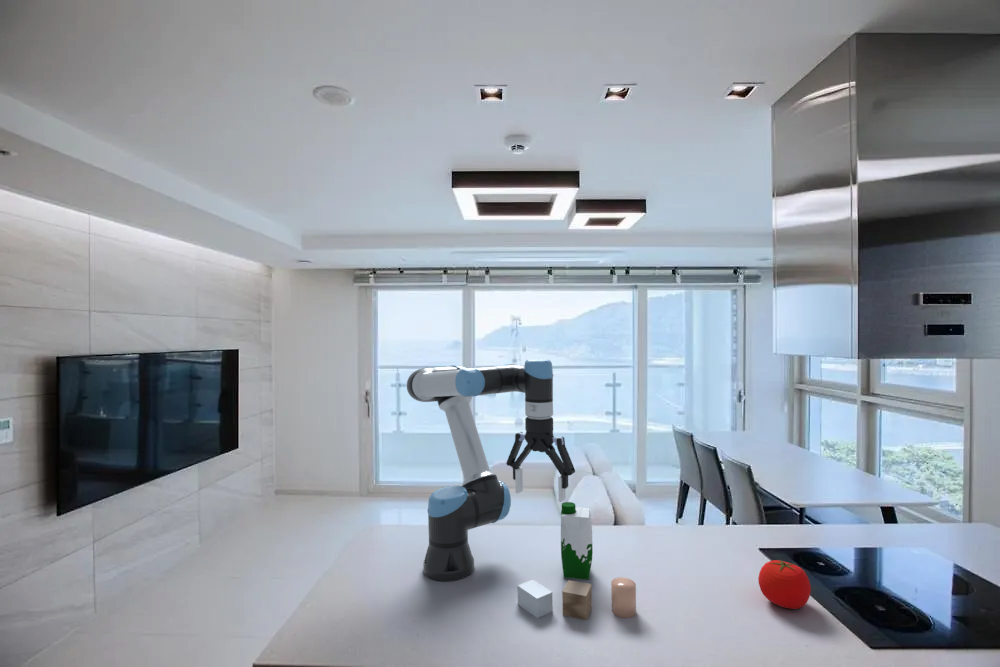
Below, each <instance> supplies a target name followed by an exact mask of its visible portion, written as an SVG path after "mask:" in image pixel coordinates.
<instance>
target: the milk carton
mask: <svg viewBox="0 0 1000 667" xmlns="http://www.w3.org/2000/svg"><path fill="white" fill-rule="evenodd" d="M560 515H561V516H560V519H561V520H560V555H561V556H560V557H561V558H560V559H561V565H562V574H563V578H566V579H576V580H587V581H589V580H590V575H591V567H592V562H593V526H592V518H591V510H590V508H589V507H581V506H579V507H578V506H577V507H576V503H575V502H570V501H564V502H562V503H561V511H560Z"/></svg>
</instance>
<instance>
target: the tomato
mask: <svg viewBox="0 0 1000 667" xmlns="http://www.w3.org/2000/svg"><path fill="white" fill-rule="evenodd" d="M757 580H758V586H759V588H760V591H761V593H762V595H763V596H764V597H765V598H766V599H767V600H768V601H770V602H771V603H773V604H774V605H777V606H780V607H781V608H785V609H791V610H795V609H797V610H798V609H800V608H803V607H804V606H805V605H806V604H807V603H808V601H809V598H810V596H811V592H812V586H811V583H810V579H809V577H808V575H807V573H806V571H805V570H804V569H803V568H801V567H800V566H798V565H797V564H795V563H791V562H787V561H783V560H781V559H777V560H775V559H774V560H770V561H767V562H766V563H764V564H763V566H762V567H761V568H760V571H759V573H758V579H757Z"/></svg>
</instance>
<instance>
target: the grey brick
mask: <svg viewBox="0 0 1000 667" xmlns="http://www.w3.org/2000/svg"><path fill="white" fill-rule="evenodd" d="M517 604H518V605H519V606H520V607H522V608H523V609H524V610H525V611H527V612H528V613H530V614H531V615H533V617H535V618H536V619H539V618H541V617H543V616H545V615H547V614H549V613H552V612H553V609H554V607H553V606H554V605H553V591H551V590H550V589H548V588H547V587H545V586H543V585H542V584H540V583H539V582H537V581H536V580H535V579H530V580H527V581H526V582H523V583H520V584H517Z"/></svg>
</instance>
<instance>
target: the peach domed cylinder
mask: <svg viewBox="0 0 1000 667" xmlns="http://www.w3.org/2000/svg"><path fill="white" fill-rule="evenodd" d="M610 582H611V584H610V585H611V588H610V590H611V593H610V594H611V613H613V615H615V616H616V617H618V618H624V619H631V618H634V617H635V616H636V614H637V587H636V586H637V585H636V582H635V581H634V580H633V579H630V578H627V577H615V578H613V579H611V581H610ZM630 617H631V618H630Z"/></svg>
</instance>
